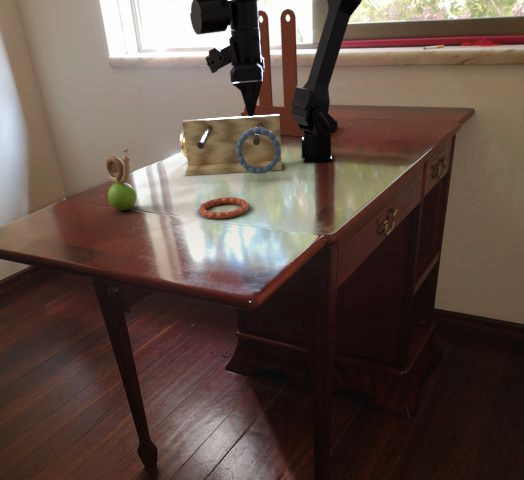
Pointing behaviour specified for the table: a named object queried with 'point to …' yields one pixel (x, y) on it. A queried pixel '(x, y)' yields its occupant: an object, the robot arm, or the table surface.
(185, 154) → the ring
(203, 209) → the terracotta ring
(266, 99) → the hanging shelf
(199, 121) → the peg rack
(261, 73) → the robot arm
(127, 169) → the snail figurine
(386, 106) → the table surface
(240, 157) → the slate ring
